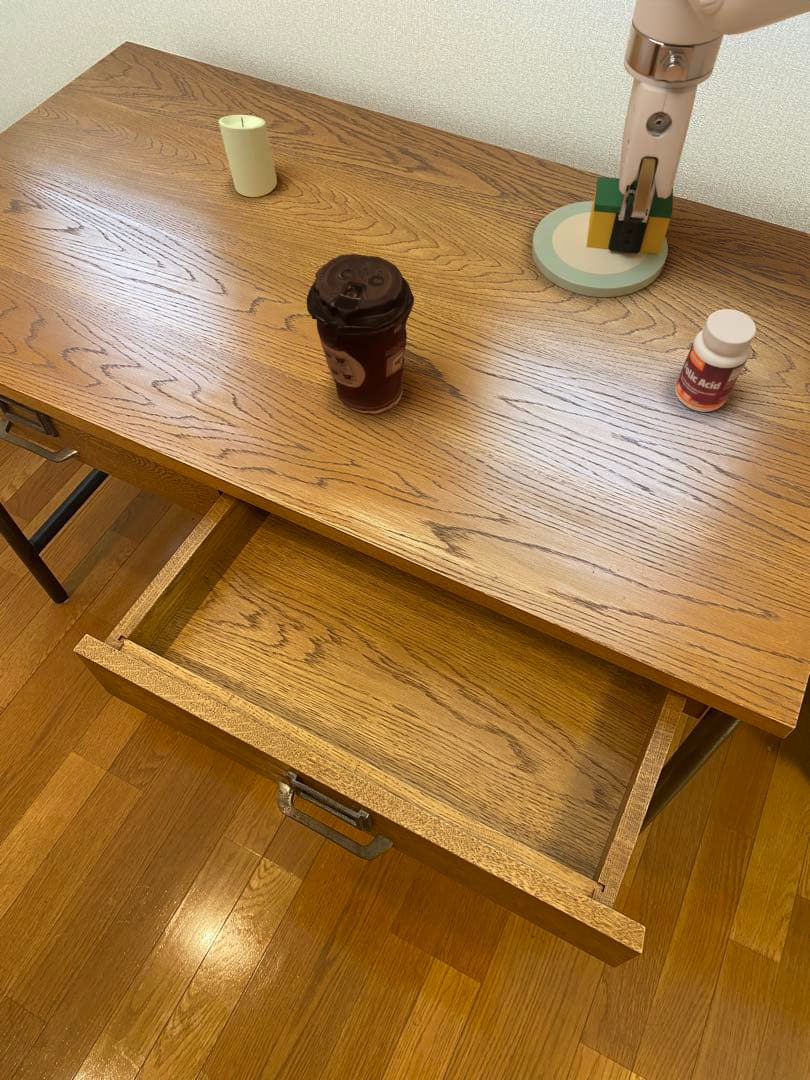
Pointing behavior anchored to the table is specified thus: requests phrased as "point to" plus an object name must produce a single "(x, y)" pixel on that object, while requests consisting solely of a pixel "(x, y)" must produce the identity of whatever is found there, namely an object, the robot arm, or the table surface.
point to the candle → (248, 154)
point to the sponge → (609, 205)
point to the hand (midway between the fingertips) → (625, 231)
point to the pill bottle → (715, 360)
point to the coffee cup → (362, 328)
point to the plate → (589, 257)
